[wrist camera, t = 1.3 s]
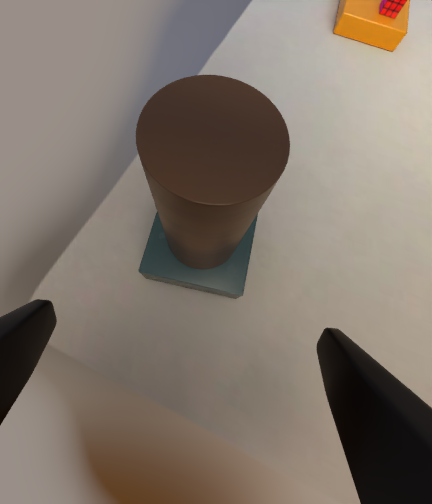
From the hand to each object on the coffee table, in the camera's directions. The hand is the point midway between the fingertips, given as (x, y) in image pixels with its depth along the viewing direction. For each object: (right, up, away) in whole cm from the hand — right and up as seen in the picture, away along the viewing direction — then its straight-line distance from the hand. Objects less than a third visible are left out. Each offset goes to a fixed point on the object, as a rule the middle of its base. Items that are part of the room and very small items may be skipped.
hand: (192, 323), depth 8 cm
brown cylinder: (0, +4, +11) cm, 12 cm away
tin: (-1, +3, +14) cm, 15 cm away
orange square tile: (+20, +33, +24) cm, 46 cm away
